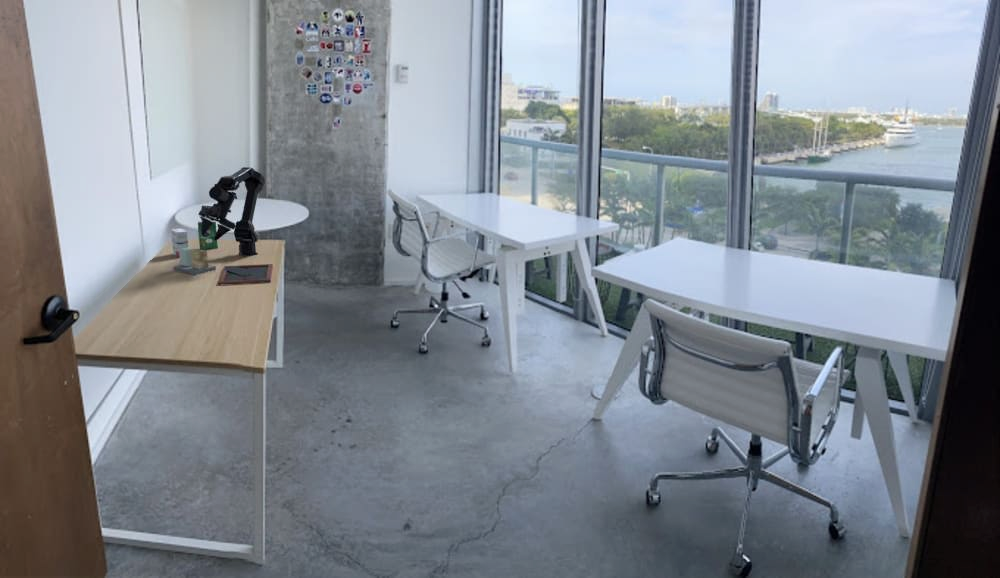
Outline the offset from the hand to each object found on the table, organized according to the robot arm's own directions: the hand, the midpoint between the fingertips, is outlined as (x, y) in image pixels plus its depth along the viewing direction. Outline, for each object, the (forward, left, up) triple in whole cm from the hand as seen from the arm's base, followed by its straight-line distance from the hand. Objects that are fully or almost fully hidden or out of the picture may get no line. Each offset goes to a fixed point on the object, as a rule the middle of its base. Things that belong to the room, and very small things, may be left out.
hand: (208, 237), depth 318 cm
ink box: (0, -27, -13) cm, 30 cm away
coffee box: (-15, -30, -13) cm, 36 cm away
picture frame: (-3, +24, -14) cm, 27 cm away
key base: (+8, +1, -13) cm, 15 cm away
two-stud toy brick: (+9, -3, -11) cm, 14 cm away
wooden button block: (+7, +5, -11) cm, 14 cm away
